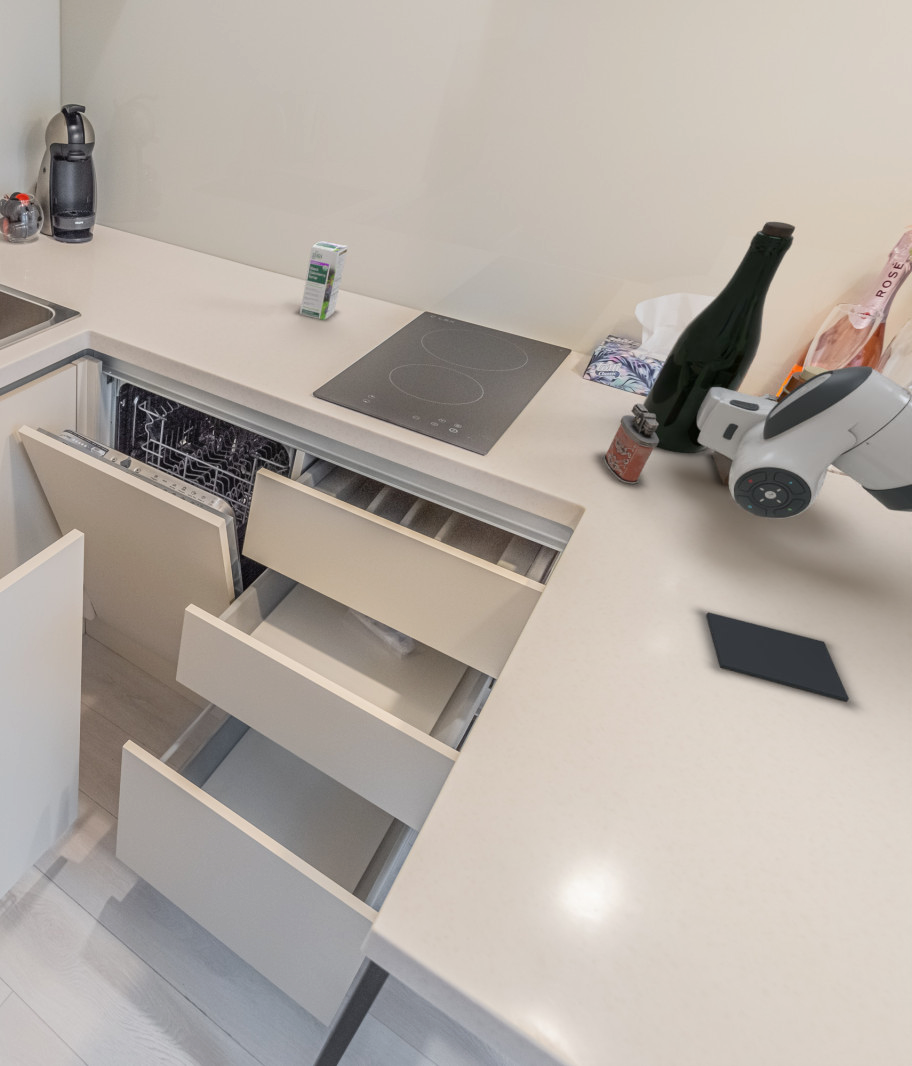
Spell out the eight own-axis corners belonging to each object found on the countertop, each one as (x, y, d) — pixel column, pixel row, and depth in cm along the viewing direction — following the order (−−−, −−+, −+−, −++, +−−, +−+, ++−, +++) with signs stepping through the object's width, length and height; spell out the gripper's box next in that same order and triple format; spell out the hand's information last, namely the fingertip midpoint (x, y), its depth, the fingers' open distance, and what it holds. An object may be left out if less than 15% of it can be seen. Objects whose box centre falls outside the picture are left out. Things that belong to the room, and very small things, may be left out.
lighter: (641, 488, 109) (673, 427, 103) (616, 486, 109) (647, 425, 103) (620, 460, 115) (649, 400, 109) (596, 457, 116) (624, 398, 110)
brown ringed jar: (790, 439, 109) (836, 367, 102) (799, 456, 105) (848, 382, 99) (748, 431, 111) (791, 360, 104) (756, 447, 107) (801, 374, 100)
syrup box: (298, 316, 160) (310, 245, 152) (309, 308, 164) (322, 239, 155) (323, 322, 158) (337, 251, 149) (334, 314, 162) (349, 244, 153)
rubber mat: (818, 647, 84) (824, 641, 83) (843, 705, 77) (849, 699, 76) (703, 618, 87) (708, 611, 87) (717, 671, 81) (722, 664, 80)
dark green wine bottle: (720, 449, 119) (848, 230, 99) (674, 461, 115) (797, 238, 95) (659, 419, 126) (766, 210, 106) (614, 429, 123) (717, 216, 103)
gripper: (906, 450, 90) (906, 410, 98) (706, 396, 100) (722, 364, 109) (872, 494, 93) (876, 452, 102) (683, 438, 104) (700, 404, 112)
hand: (795, 406), depth 105 cm, fingers closed on brown ringed jar, 5 cm apart
